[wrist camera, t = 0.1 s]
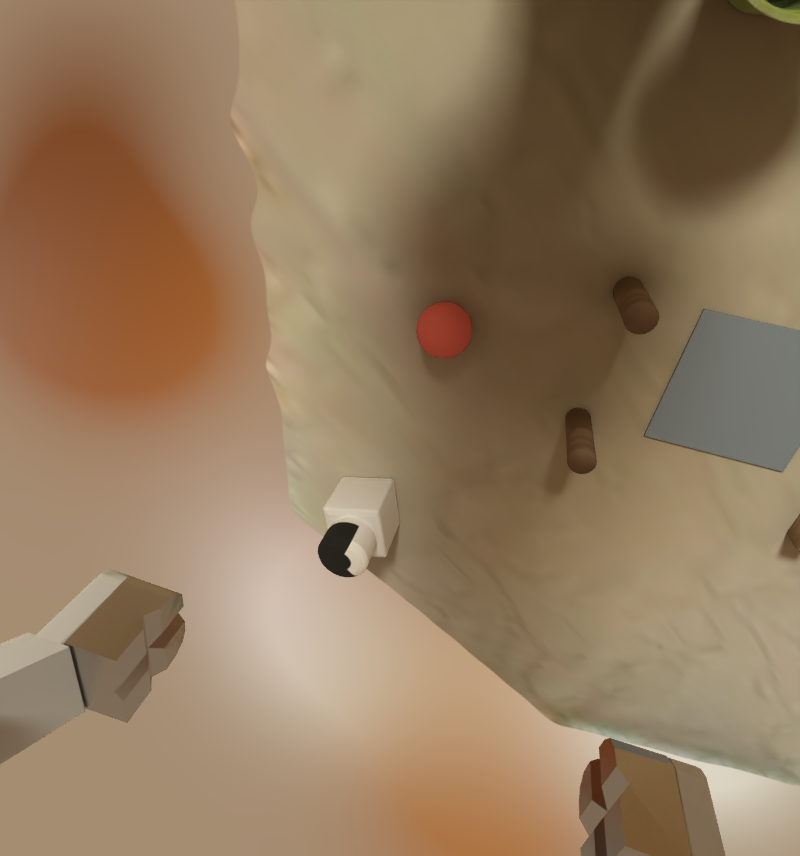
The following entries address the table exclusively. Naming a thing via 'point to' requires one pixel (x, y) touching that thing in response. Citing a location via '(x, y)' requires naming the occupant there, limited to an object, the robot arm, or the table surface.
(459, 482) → the table surface
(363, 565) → the medicine bottle
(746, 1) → the plant pot
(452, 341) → the ball
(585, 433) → the post
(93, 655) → the robot arm
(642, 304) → the post
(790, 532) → the stopper wall
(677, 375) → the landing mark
